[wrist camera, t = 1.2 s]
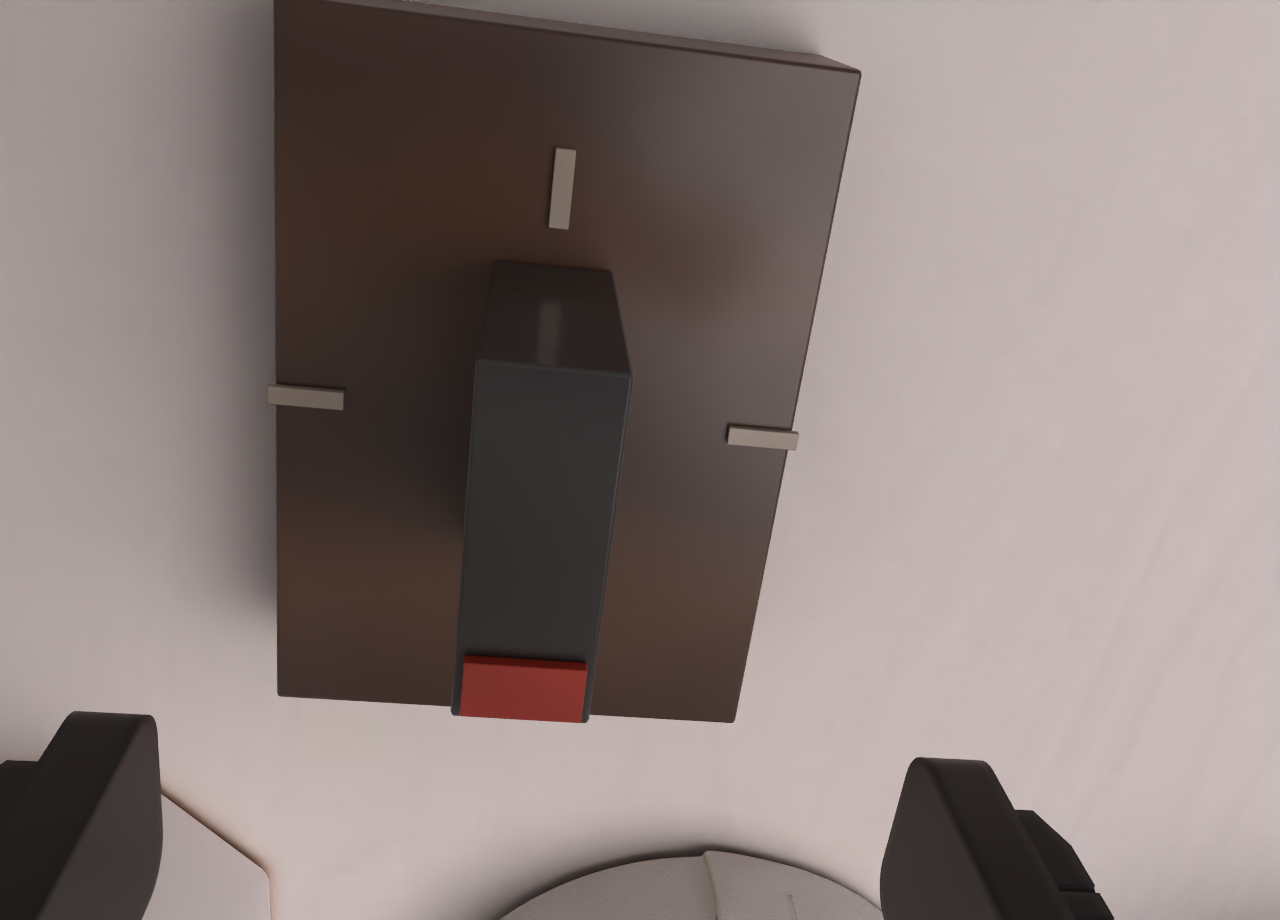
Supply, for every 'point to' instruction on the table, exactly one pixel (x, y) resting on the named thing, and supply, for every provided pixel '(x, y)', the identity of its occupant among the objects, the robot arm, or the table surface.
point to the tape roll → (699, 893)
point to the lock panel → (455, 305)
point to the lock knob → (540, 493)
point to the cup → (204, 875)
